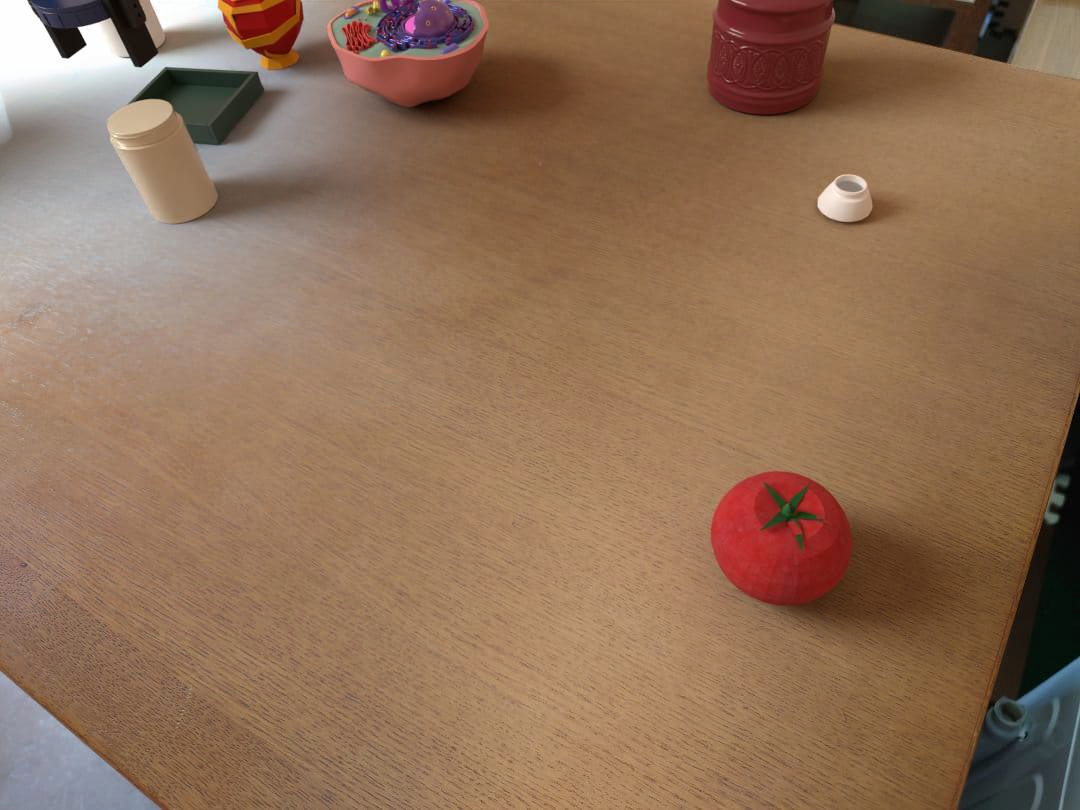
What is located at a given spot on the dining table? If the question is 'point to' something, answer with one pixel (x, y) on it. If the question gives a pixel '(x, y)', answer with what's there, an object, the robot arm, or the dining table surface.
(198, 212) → the jam jar
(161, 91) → the lid tray
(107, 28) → the milk bottle
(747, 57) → the kitchen canister
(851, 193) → the lidless jar
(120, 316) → the dining table surface
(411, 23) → the cell model
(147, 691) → the dining table surface
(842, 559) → the tomato
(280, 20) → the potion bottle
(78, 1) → the jam lid
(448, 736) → the dining table surface
